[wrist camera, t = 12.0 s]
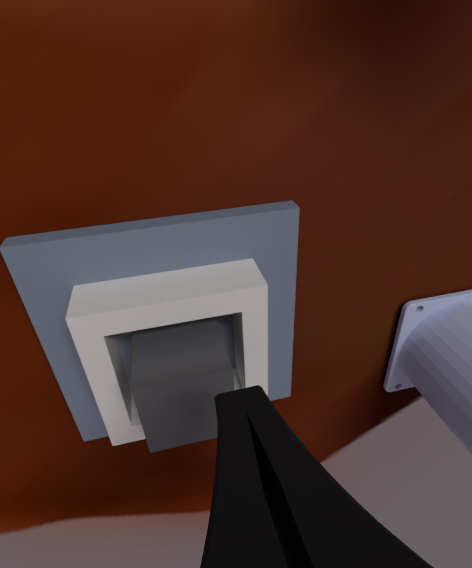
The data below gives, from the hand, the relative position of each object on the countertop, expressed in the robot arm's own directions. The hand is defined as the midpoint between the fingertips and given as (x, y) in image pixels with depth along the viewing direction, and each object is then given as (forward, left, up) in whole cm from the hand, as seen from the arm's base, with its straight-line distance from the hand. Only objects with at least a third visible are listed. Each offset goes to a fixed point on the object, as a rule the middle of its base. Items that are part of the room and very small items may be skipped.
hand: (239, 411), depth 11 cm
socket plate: (+1, +4, -9) cm, 10 cm away
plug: (+1, +4, -8) cm, 9 cm away
